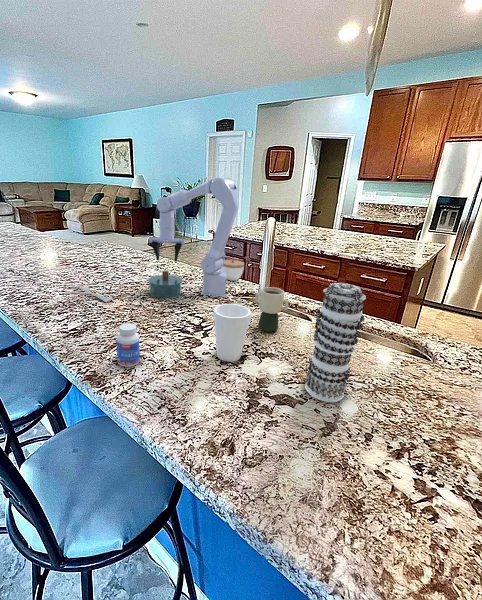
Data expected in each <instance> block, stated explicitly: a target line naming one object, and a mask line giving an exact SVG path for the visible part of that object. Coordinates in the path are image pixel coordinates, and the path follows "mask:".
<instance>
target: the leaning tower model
mask: <svg viewBox="0 0 482 600" xmlns="http://www.w3.org/2000/svg"><path fill="white" fill-rule="evenodd" d="M322 292H323V294H324V296H323V301H322V303H321V307H320V308H318V309H316V313H317V315H315V316H316V318H315V325H314V328H315V330H314V334H313V344H314V349H313V351H312V354H311V357H310V358H309V361H308V363H309V365H308V366H307V369H308V370H307V373H306V378H305V386H304V388H305V390H306V392H307V393H308V394H309V395H310V396H311V397H312V398H315V399H317V400H318V401H322V402H325V403H337V402H341V401H342V399H343V398H345V397H344V396H345V394H344V393H346V390H345V389H346V388H347V386H348V385H347V383H348V379H349V375H350V373H351V371H350V370H351V368H350V366H351V357H352V355H353V353H354V352H356V347H355V345H358V343H359V340H358V338H359V337H361V333H360V332H359V330H361V329H363V324H362V322H364V321H365V320H366V319H365V316H364V315H363V307H364V303H365V300H366V299H367V296H366V295H365V294H364V293H363V291H362V289H361V288H360V287H358V286H357V285H354V284H350V283H347V282H334V283H331V284H330V285H329V286H328V287H326V288H324V289H323V290H322Z"/></svg>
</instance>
